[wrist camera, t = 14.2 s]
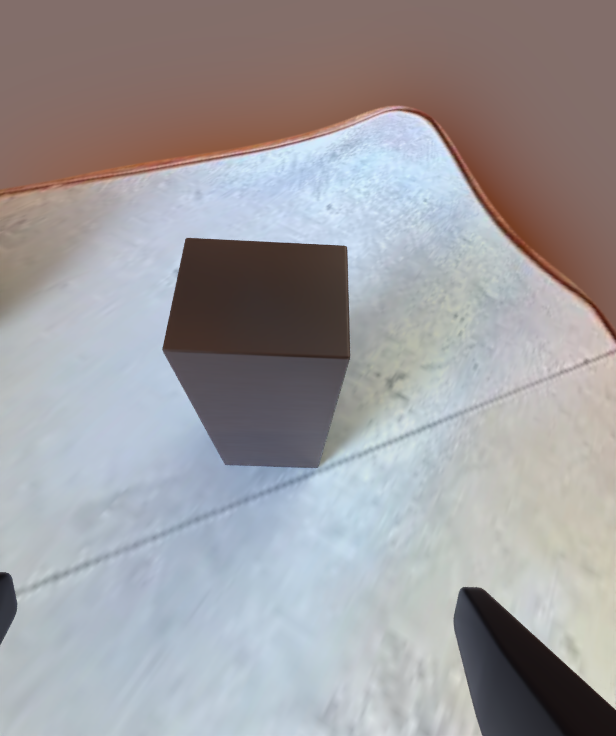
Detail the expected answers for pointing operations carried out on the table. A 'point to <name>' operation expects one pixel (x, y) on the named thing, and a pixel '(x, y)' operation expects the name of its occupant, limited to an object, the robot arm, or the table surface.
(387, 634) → the table surface
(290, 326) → the walnut block
